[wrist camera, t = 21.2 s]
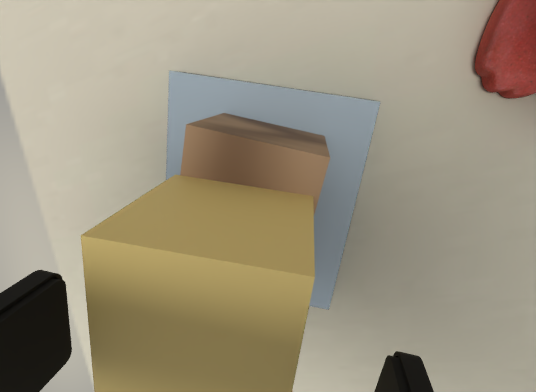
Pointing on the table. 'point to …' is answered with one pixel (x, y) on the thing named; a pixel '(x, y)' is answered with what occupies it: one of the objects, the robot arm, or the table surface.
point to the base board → (296, 117)
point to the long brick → (255, 155)
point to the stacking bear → (509, 49)
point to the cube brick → (200, 289)
